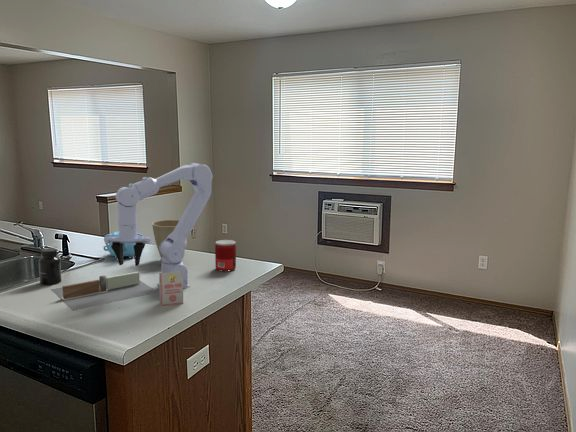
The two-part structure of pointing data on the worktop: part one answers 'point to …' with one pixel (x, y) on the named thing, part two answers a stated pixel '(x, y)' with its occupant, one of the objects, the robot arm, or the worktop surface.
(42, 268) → the supplement bottle
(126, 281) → the sage fence panel
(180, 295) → the pink white carton
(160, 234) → the plant pot
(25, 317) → the worktop surface
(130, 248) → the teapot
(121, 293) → the card
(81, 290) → the walnut fence section
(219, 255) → the canned food
